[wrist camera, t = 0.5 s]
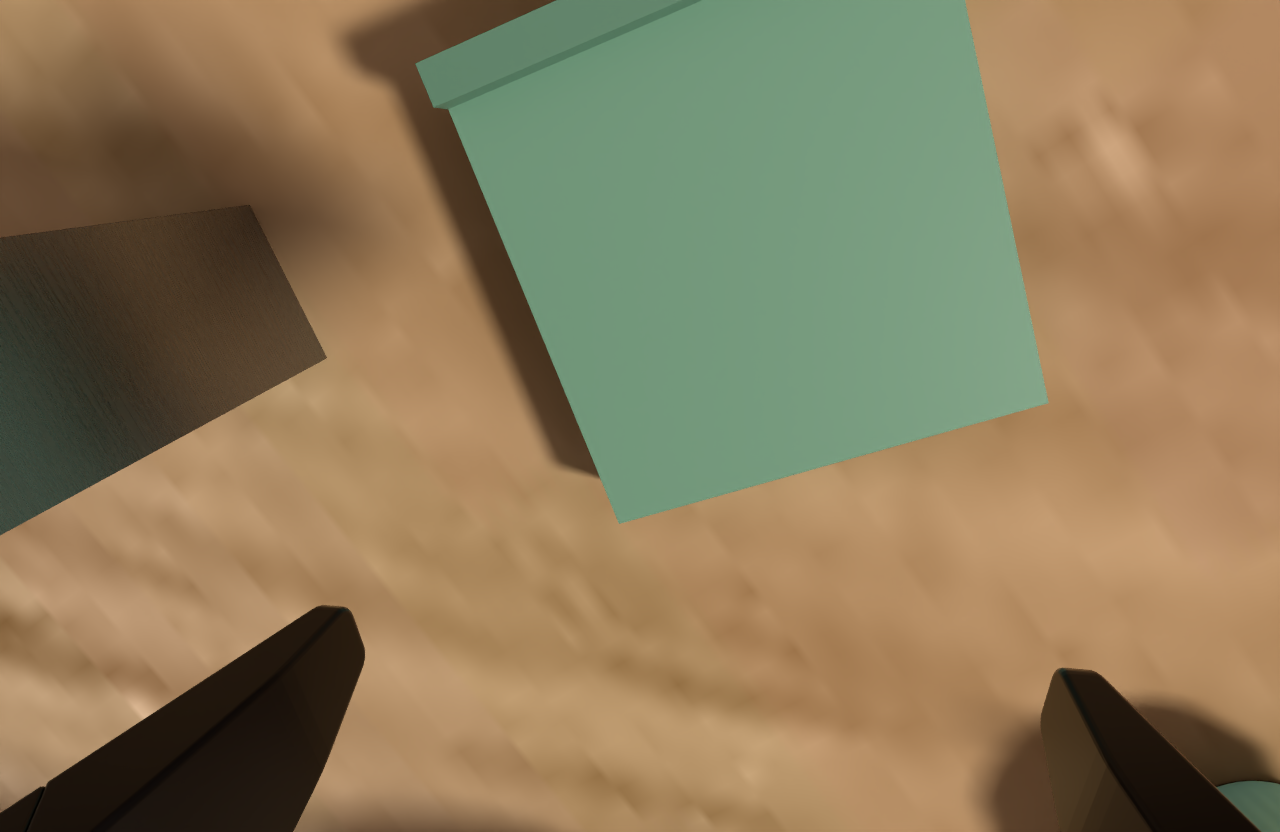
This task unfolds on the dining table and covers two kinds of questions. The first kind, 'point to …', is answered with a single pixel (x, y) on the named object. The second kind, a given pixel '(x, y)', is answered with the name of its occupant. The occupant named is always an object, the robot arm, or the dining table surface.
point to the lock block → (133, 344)
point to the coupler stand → (749, 229)
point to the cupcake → (1256, 802)
